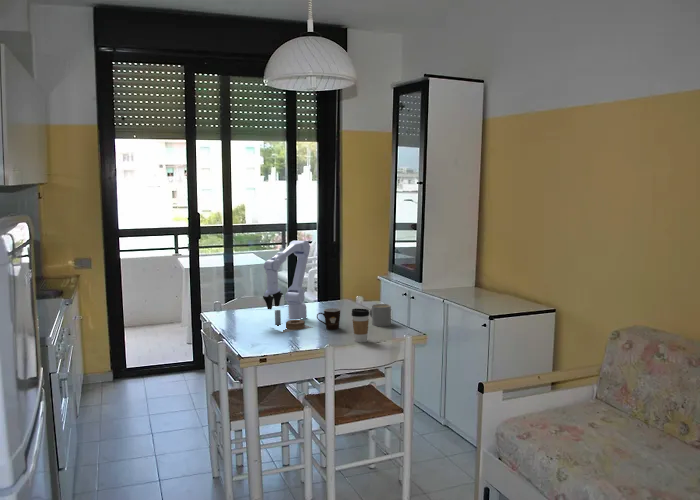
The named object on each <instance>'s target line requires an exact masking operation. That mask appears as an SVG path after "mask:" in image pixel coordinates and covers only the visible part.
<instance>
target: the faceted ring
mask: <svg viewBox="0 0 700 500" xmlns="http://www.w3.org/2000/svg"><path fill="white" fill-rule="evenodd" d="M285 323H286V328H287V329H295V330H296V331H298V330H297V329H302V330H304V329H303V328H304V327H305V325H306V324H305V320H304V319H303V320H287V321H286V322H285Z"/></svg>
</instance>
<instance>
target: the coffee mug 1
mask: <svg viewBox="0 0 700 500" xmlns="http://www.w3.org/2000/svg"><path fill="white" fill-rule="evenodd" d="M319 315H323V318H324V319H325V320H324V321H322V320H321V319H320V318H319ZM340 318H341V309H340V308H337V307H332V308H331V307H329V308H325V309H323V312H318V313H317V314H316V319H317V320H318V321H319V322H321V323H322V324H324V325H325V327H326V328H325V329H326V330H329V331H336V330H339V329H340V322H341V321H340Z"/></svg>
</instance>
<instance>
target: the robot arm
mask: <svg viewBox="0 0 700 500" xmlns="http://www.w3.org/2000/svg"><path fill="white" fill-rule="evenodd" d="M310 249H311V245H310V242H309V241H308V240H296V239H295V240H292V241H290V242H289V245H288V246H287V247H285V249H284V250H283V251H278V252H276V254H275V255H273V256H272V257H271V258H270V259H267V260H266V261H265V262H264V264H263V268H264V270H265V273H266V290H265V292H264V293H263V296H262V299H263V300H264V302H265V304H266V307H267V310H272V309H273V303H274V306H275V307H279V306H280V305H281V304H280V303H281V299H282V296H283V293H284V292H282V288H281V287H280V288H279V281H278V280H279V276H278V272H279V270H280V267H281V266H282V264H283V263H285V262H286V261H287V257H289V256H290V255H291V254H294V256H296V257H297V261H296V266H295V270H294V276H293V279H292V284H291V285H290V286H289V287H288V288H287V291H286V293H285V294H284V295H285V296H284V299H285V301H286V302H287V304H288V318H289V319H301V318H306V317H307V318H308V315H307V304H306V303H305V302H304V301H305V298H306V297H305V292H306V291H305V289H304V288H303V282H304V277H305V273H306V268H307V265H308V259H309V255H310V254H309V253H310ZM273 301H274V302H273Z"/></svg>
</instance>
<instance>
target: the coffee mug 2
mask: <svg viewBox="0 0 700 500" xmlns="http://www.w3.org/2000/svg"><path fill="white" fill-rule="evenodd" d="M391 308H392V306H391V304H388V303H375V304H372V305H371V307H370V308H369V316H370V317H371V322H372V323H371V325H372V326H375V327H388V326H391V325H392V309H391Z"/></svg>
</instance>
